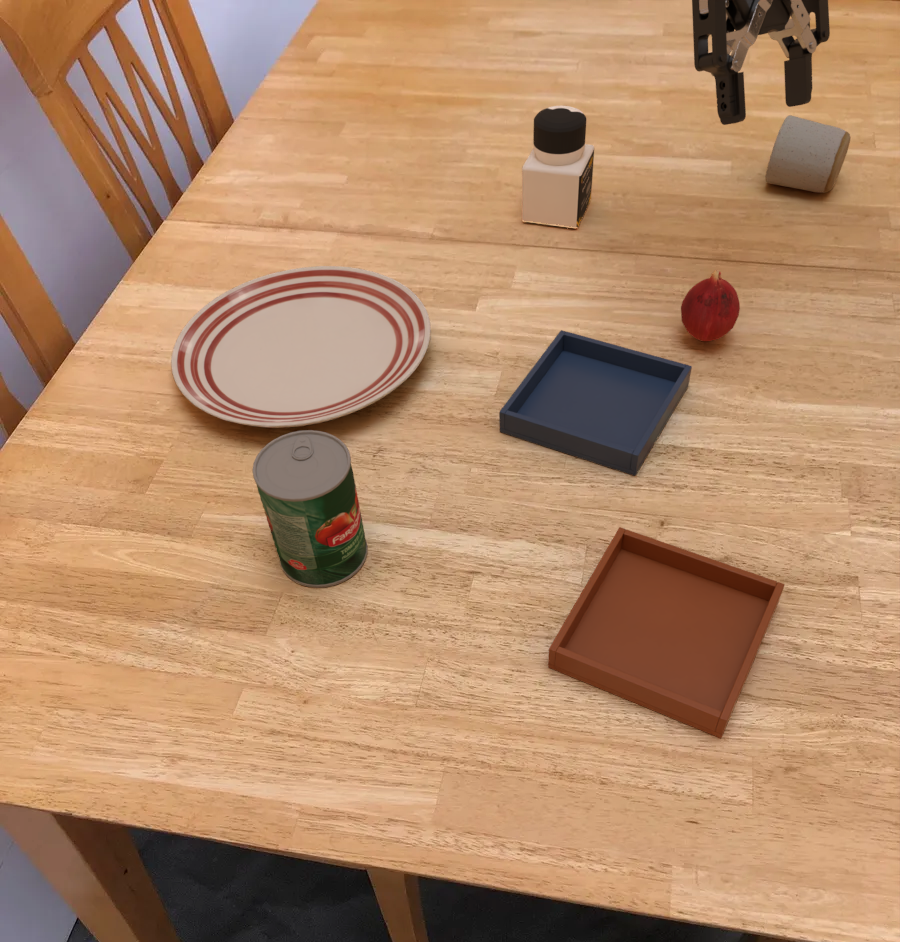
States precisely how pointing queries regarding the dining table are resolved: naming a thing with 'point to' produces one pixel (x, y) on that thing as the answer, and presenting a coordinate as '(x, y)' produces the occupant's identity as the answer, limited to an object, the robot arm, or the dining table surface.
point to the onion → (710, 308)
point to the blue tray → (596, 401)
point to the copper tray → (667, 630)
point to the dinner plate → (301, 346)
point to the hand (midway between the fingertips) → (766, 113)
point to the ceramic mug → (807, 155)
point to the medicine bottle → (558, 168)
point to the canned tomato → (312, 507)
